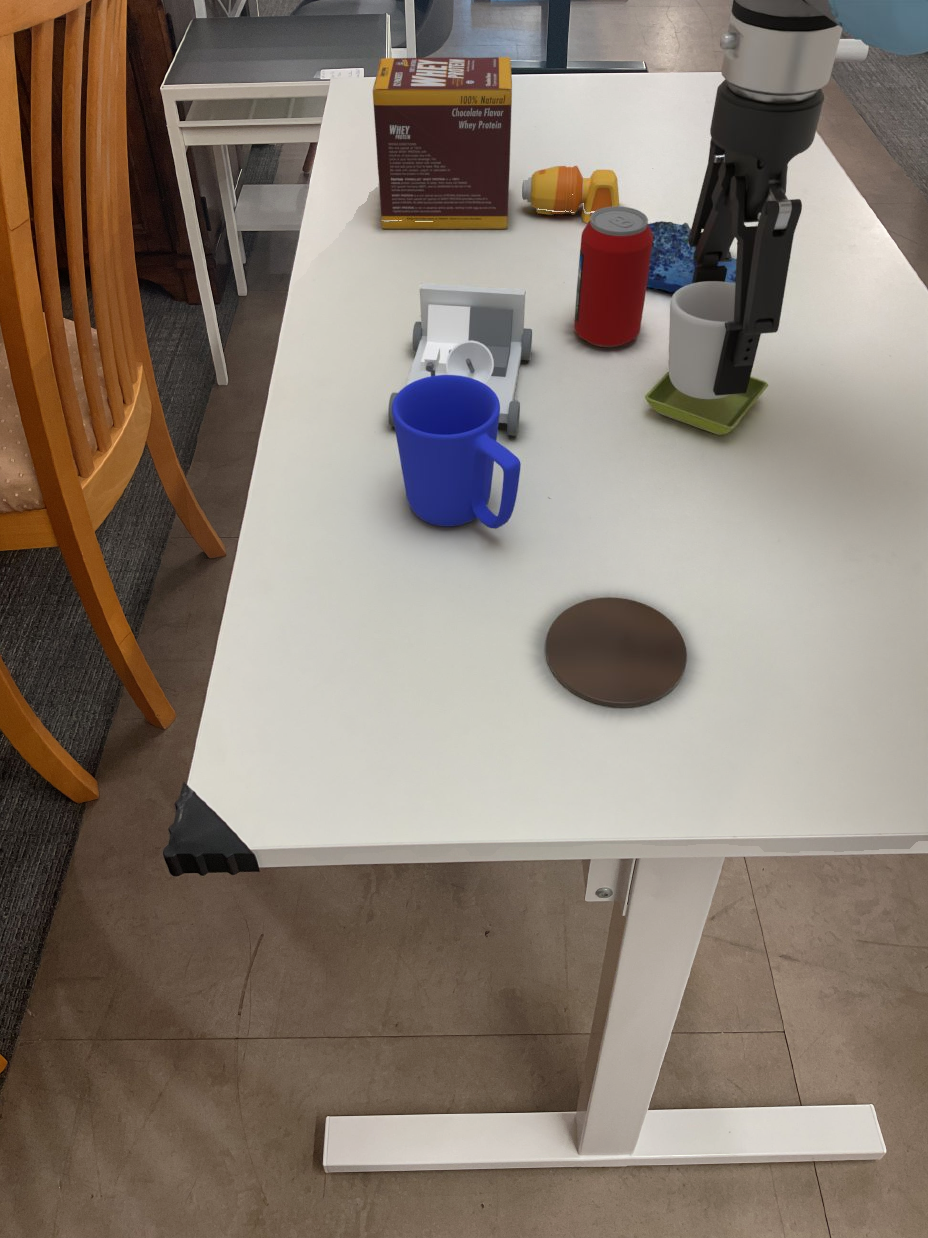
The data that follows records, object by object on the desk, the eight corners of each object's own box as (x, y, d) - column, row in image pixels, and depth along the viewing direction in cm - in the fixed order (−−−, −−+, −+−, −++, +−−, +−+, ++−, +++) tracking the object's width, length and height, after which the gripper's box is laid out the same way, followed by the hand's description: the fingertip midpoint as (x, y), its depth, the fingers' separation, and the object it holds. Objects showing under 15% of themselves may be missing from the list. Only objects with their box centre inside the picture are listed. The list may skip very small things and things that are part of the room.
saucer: (765, 401, 88) (770, 382, 86) (727, 448, 83) (732, 429, 82) (680, 372, 91) (684, 353, 90) (639, 416, 86) (642, 397, 85)
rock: (665, 224, 112) (667, 208, 111) (786, 276, 104) (791, 259, 102) (583, 268, 106) (584, 252, 104) (705, 327, 97) (709, 310, 96)
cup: (691, 342, 90) (704, 260, 84) (772, 362, 87) (791, 279, 81) (645, 394, 84) (655, 309, 78) (730, 418, 80) (748, 332, 75)
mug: (471, 579, 72) (471, 477, 65) (380, 501, 79) (370, 400, 71) (549, 532, 76) (557, 431, 68) (455, 461, 82) (453, 361, 75)
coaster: (703, 699, 64) (704, 695, 64) (560, 715, 63) (560, 710, 63) (664, 595, 71) (665, 590, 71) (534, 608, 70) (534, 603, 70)
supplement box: (509, 229, 112) (512, 87, 101) (381, 229, 113) (370, 87, 101) (508, 192, 119) (511, 55, 108) (387, 192, 120) (378, 55, 108)
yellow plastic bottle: (520, 222, 114) (620, 224, 113) (521, 176, 110) (625, 177, 109) (523, 203, 117) (619, 204, 116) (524, 157, 113) (624, 158, 112)
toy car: (516, 362, 75) (375, 352, 76) (513, 460, 82) (383, 450, 83) (536, 256, 87) (413, 249, 88) (531, 349, 94) (418, 342, 95)
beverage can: (605, 310, 99) (618, 196, 90) (653, 336, 96) (670, 220, 87) (559, 332, 96) (567, 216, 88) (606, 359, 93) (620, 242, 84)
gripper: (679, 39, 74) (642, 305, 90) (772, 145, 59) (708, 437, 76) (771, 34, 74) (717, 299, 91) (886, 138, 60) (797, 429, 77)
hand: (713, 362), depth 83 cm, fingers closed on cup, 8 cm apart
